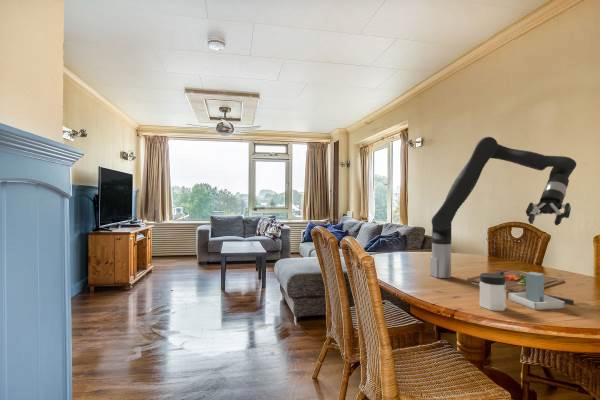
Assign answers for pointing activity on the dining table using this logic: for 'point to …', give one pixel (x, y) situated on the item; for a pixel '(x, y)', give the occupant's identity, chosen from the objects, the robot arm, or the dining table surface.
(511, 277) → the chopping board
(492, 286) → the jar
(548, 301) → the parts tray
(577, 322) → the dining table surface
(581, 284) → the dining table surface
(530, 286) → the tall gray-blue pillar
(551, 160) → the robot arm
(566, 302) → the long charcoal bar
